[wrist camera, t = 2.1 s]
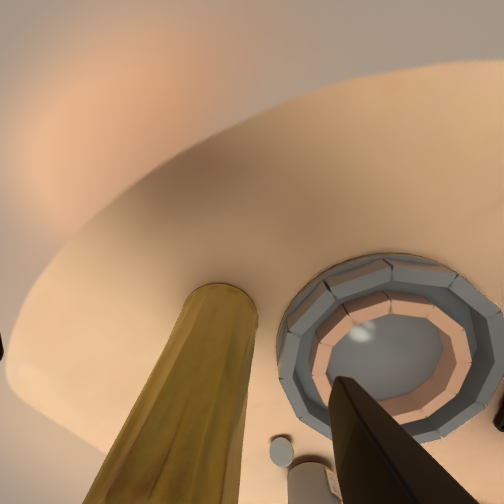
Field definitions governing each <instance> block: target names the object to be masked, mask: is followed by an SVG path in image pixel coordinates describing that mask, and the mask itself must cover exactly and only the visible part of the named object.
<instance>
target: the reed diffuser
mask: <svg viewBox="0 0 504 504" xmlns="http://www.w3.org/2000/svg"><path fill="white" fill-rule="evenodd" d="M270 457H271V459H272V461H273V462H274V463H275V464H276V465H277V466H279V467H282V468H284V467H287V466H289V465H290V464H291V463H292V461H293V458H294V450H293V447H292V445H291V443H290V442H289V441H288V440H287V439H285V438H283V437H279V438H276V439H275V440H273V442H272V443H271V445H270ZM287 482H288V504H342V503H341V501H342V497H341V492H340V488H339V484H338V480H337V477H336V475H335V474H334V473H333V472H332V471H331V470H330V469H329V468H328V467H327V466H325V465H323V464H320V463H314V462H308V463H302V464H299V465H297V466H295V467H294V468H293V469H292V470H291V471H290V472H289V474H288V479H287ZM342 502H343V501H342Z"/></svg>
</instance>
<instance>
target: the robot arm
mask: <svg viewBox="0 0 504 504" xmlns="http://www.w3.org/2000/svg"><path fill="white" fill-rule="evenodd" d="M3 354H4V349H3V344H2V339H1V334H0V361H1V359H2V357H3ZM328 411H329V418H330V426H331V434H332V442H333V449H334V457H335V465H336V472H337V478H338V483H339V488H340V492H341V497H342V501H343V504H479V503H478V502H477V501H476V500H475V499H474V498H473V497H472V496H471V495H470V494H469V493H468V492H467V491H466V490H465V489H464V488H463V487H462V486H461V485H460V484H459V483H458V482H457V481H456V480H455V479H454V478H453V477H452V476H451V475H450V474H449V473H448V472H447V471H446V470H445V469H444V468H443V467H442V466H441V465H440V464H439V463H438V462H437V461H436V460H435V459H434V458H433V457H432V456H431V455H430V454H429V453H428V452H427V451H426V450H425V449H424V448H423V447H422V446H421V445H420V444H419V443H418V442H417V441H416V440H415V439H414V438H413V437H412V436H411V435H410V434H409V433H408V432H407V431H406V430H405V429H404V428H403V427H402V426H401V425H400V424H399V423H398V422H397V421H396V420H395V419H394V418H393V417H392V416H391V415H390V414H389V413H388V412H387V411H386V410H385V409H384V408H383V407H382V406H381V405H380V404H379V403H378V402H377V401H376V400H375V399H374V398H373V397H372V396H371V395H370V394H369V393H368V392H367V391H366V390H365V389H364V388H363V387H362V386H361V385H360V384H359V383H358V382H356V381H355V380H354V379H353V378H351V377H347V376H340V375H338V376H336V377H335V379H334V382H333V386H332V389H331V393H330V396H329V401H328ZM494 425H495V427H496V428H497V429H498V430H499V431H501V432H504V406H503V408H502V410H501V412H500V413H499V415H498V417H497V419H496V421H495V423H494Z"/></svg>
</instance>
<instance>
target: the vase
mask: <svg viewBox="0 0 504 504" xmlns="http://www.w3.org/2000/svg"><path fill="white" fill-rule="evenodd" d="M257 328H258V316H257V311H256V308H255V305H254V304H253V302H252V301H251V299H250V298H249V297H248V296H247V295H246V294H245V293H244V292H242V291H241V290H239V289H237V288H235V287H232V286H229V285H225V284H210V285H206V286H203V287H200V288H198V289H197V290H195V291H194V292H193V293H192V294H191V295H190V296H189V297H188V298H187V300H186V301H185V303H184V306H183V309H182V312H181V314H180V316H179V318H178V320H177V322H176V324H175V326H174V328H173V331H172V333H171V335H170V337H169V339H168V342H167V344H166V346H165V348H164V350H163V352H162V354H161V355H160V357H159V359H158V361H157V363H156V365H155V367H154V369H153V371H152V372H151V374H150V376H149V378H148V380H147V382H146V384H145V386H144V388H143V390H142V391H141V393H140V395H139V397H138V399H137V401H136V402H135V404H134V406H133V408H132V410H131V412H130V414H129V416H128V418H127V419H126V421H125V423H124V425H123V427H122V429H121V431H120V433H119V434H118V436H117V438H116V440H115V442H114V444H113V445H112V447H111V449H110V451H109V453H108V455H107V457H106V459H105V461H104V463H103V465H102V466H101V468H100V470H99V472H98V474H97V476H96V478H95V480H94V482H93V484H92V486H91V488H90V490H89V492H88V494H87V496H86V497H85V499H84V501H83V503H82V504H238V496H239V485H240V473H241V458H242V446H243V437H244V428H245V417H246V408H247V399H248V385H249V379H250V372H251V364H252V358H253V352H254V344H255V334H256V330H257Z"/></svg>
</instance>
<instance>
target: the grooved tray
mask: <svg viewBox="0 0 504 504" xmlns="http://www.w3.org/2000/svg"><path fill="white" fill-rule="evenodd" d="M500 310H501V309H499V308H498V307H497V306H496V305H495V304H493V303H492V302H491V301H490V300H489V299H487V298H486V297H485V296H484V295H483V294H481V293H480V292H479V291H478V290H477V289H476V288H475V287H474V286H473V285H472V284H470V283H469V282H468V281H467V280H466V279H465V278H464V277H462V276H461V275H459V274H458V273H457V272H455V271H453V270H451V269H450V268H448V267H446V266H444V265H442V264H440V263H438V262H436V261H433V260H430V259H427V258H424V257H421V256H416V255H411V254H402V253H381V254H372V255H367V256H361V257H358V258H355V259H351V260H348V261H345V262H343V263H341V264H338V265H336V266H334V267H332V268H330V269H329V270H327V271H325V272H323V273H322V274H320V275H319V276H317V277H316V278H315V279H313V280H312V281H311V282H309V283H308V284H307V285H306V286H305V287H304V288H303V289H302V290H301V291H300V292H299V293H298V295H297V296H296V297H295V298H294V300H293V301H292V302H291V304H290V305H289V307H288V309H287V310H286V312H285V314H284V316H283V319H282V321H281V323H280V327H279V331H278V335H277V343H276V352H277V365H278V375H279V381H280V383H281V385H282V387H283V389H284V391H285V393H286V396H287V398H288V400H289V402H290V404H291V406H292V408H293V410H294V412H295V414H296V416H297V418H299V420H300V421H302V422H303V423H305V424H307V425H308V426H310V427H311V428H313V429H314V430H316V431H318V432H319V433H321V434H322V435H324V436H326V437H327V438H329V439H330V440H332V434H331V426H330V418H329V411H328V401H329V396H330V393H331V389H332V386H333V382H334V379H335V377H336V376H338V375H340V376H347V377H351V378H353V379H354V380H355V381H356V382H358V383H359V384H360V385H361V386H362V387H363V388H364V389H365V390H366V391H367V392H368V393H369V394H370V395H371V396H372V397H373V398H374V399H375V400H376V401H377V402H378V403H379V404H380V405H381V406H382V407H383V408H384V409H385V410H386V411H387V412H388V413H389V414H390V415H391V416H392V417H393V418H394V419H395V420H396V421H397V422H398V423H399V424H400V425H401V426H402V427H403V428H404V429H405V430H406V431H407V432H408V433H409V434H410V435H411V436H412V437H413V438H414V439H415V440H416V441H417V442H418V443H419V444H421V443H425V442H429V441H433V440H438V439H441V437H440V435H441V436H442V437H445V436H446V435H448V434H449V433H451V432H452V431H453V430H455V429H456V428H458V427H459V426H461V425H462V424H463V423H465V422H466V421H468V420H469V419H470V418H472V417H473V416H475V415H476V414H477V413H479V412H480V411H482V410H483V409H484V408H486V407H485V406H484V405H488V404H489V402H490V400H491V398H492V396H493V394H494V392H495V390H496V388H497V387H498V385H499V383H500V381H501V379H502V377H503V375H504V318H503V312H501V311H500Z"/></svg>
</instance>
